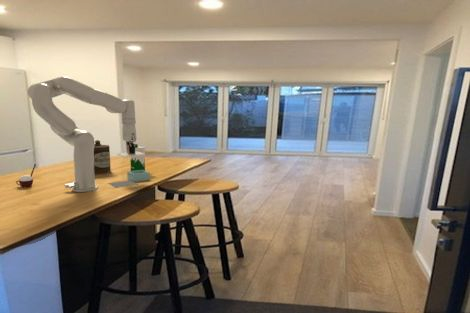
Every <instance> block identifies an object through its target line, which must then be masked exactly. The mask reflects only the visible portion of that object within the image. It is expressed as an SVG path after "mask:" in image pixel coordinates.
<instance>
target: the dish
mask: <svg viewBox="0 0 470 313" xmlns="http://www.w3.org/2000/svg"><path fill="white" fill-rule="evenodd" d="M126 175H127V180H130V181H132V182H134V183H137V182H144V181H149V180H150V179H151V176H150V175H151V174H150V171H147V170H146V169H145V170H136V171H131V170H129V171H127V173H126Z"/></svg>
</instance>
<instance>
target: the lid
mask: <svg viewBox="0 0 470 313" xmlns="http://www.w3.org/2000/svg"><path fill="white" fill-rule="evenodd" d="M125 145H126V146H127V148H126V152H121V153H118V152H117V156H120V157H122V158H125V159H126V158H130V157H134V156H142V155H145V156H146V153H145V154H144V153H141V152H138V151H136V152H135V153H130V151H129V147H130V144H126V143H125ZM126 146H125V147H126Z"/></svg>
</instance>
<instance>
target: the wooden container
mask: <svg viewBox="0 0 470 313" xmlns="http://www.w3.org/2000/svg"><path fill="white" fill-rule="evenodd" d="M110 148H111V147H110V145H109V144H102V143H101V141H100V140H98V139H96V140H94V173H95V175H104V174H109V173H110V172H111V170H112V169H111V151H110Z"/></svg>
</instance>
